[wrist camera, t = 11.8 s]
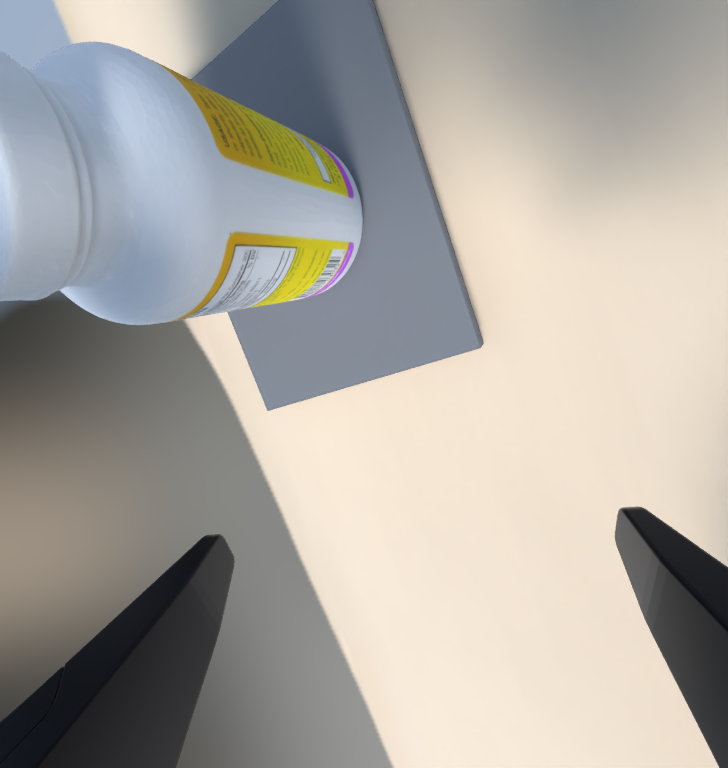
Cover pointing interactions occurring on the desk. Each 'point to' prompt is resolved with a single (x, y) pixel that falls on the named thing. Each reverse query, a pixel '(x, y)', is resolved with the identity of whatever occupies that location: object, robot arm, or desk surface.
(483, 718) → the desk surface
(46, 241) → the supplement bottle
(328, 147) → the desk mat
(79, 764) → the robot arm
